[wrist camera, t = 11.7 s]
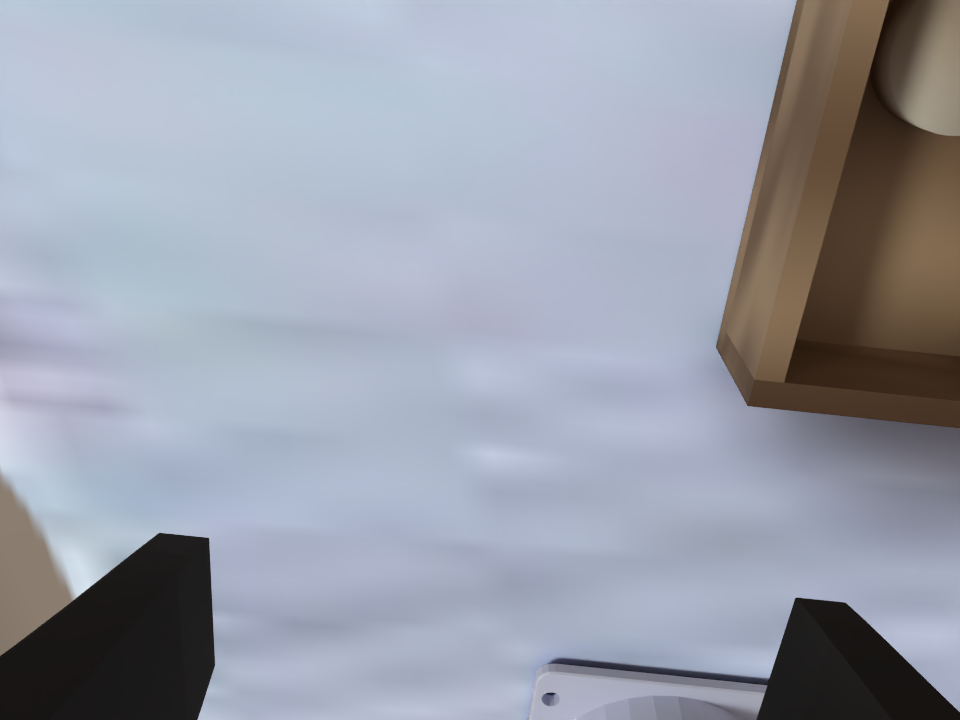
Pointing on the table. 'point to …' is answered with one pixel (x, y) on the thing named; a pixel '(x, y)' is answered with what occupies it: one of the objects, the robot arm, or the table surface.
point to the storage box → (856, 220)
